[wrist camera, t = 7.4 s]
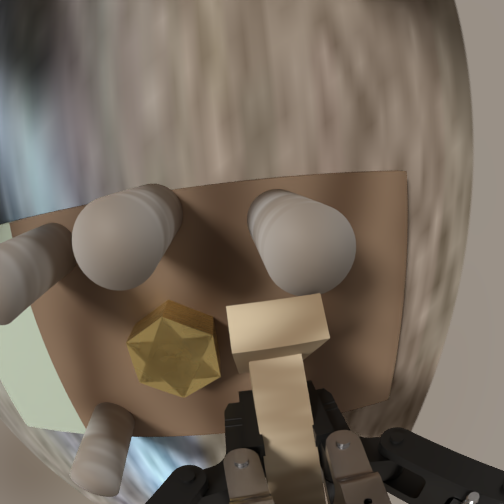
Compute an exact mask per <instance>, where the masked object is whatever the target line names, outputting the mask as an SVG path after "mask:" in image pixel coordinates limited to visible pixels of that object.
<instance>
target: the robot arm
mask: <svg viewBox="0 0 504 504" xmlns="http://www.w3.org/2000/svg"><path fill="white" fill-rule="evenodd" d="M306 382H307V388H308V393H309V399H310V405H311V411H312V417H313V423H314V425H312V427H313V433H314V439H315V446H316V447H317V448H318V454H319V461H320V467H321V468H322V471H323V483H324V487H325V492H326V496H327V500H328V504H391V501H390V499H389V496H388V494H387V492H389V493H390V494H392V495H394V496H396V497H397V498H399V499H401V500H403V501H405V502H406V503H408V504H504V471H503V470H500V469H497V468H495V467H492V466H489V465H486V464H484V463H481V462H479V461H476V460H474V459H471V458H469V457H467V456H464V455H462V454H459V453H457V452H454V451H452V450H450V449H448V448H446V447H443V446H441V445H439V444H436V443H434V442H432V441H430V440H428V439H425V438H423V437H421V436H419V435H417V434H415V433H413V432H411V431H408V430H406V429H404V428H391V429H388V430H386V431H385V432H384V433H383V434H382V435H381V437H375V438H364V437H359V436H358V435H357V434H356V433H354V432H352V431H350V429H349V427H348V425H347V423H346V421H345V419H344V418H343V416H342V414H341V412H340V410H339V409H338V406H337V404H336V403H335V400H334V398H333V396H332V394H331V393H330V392H328V391H327V390H326V389H324V388H322V389H317V390H316V389H315V387H314V385H313V383H312V381H311V380H309V381H306ZM224 418H225V438H226V455H225V457H224V459H223V460H222V461H221V462H220V463H219V464H217V465H215V466H213V467H210V468H207V469H201V468H200V467H198V466H194V465H185V466H181V467H179V468H177V469H176V470H174V471H173V472H172V474H171V475H170V476H169V477H168V478H167V480H166V481H165V482H164V483H163V484H162V485H161V486H160V488H159V489H158V490H157V491H156V492H155V493H154V494H153V496H152V497H151V498H150V499H149V500H148V501H147V502H146V503H145V504H274V501H273V498H272V495H271V494H270V492H269V489H268V486H267V482H266V479H265V478H266V472H265V465H264V458H263V456H266V455H265V447H264V441H263V436H262V434H260V433H259V427H258V421H257V416H256V410H255V404H254V398H253V392H252V390H246V391H239V402H237V403H228V405H227V407H226V409H225V411H224Z"/></svg>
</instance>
